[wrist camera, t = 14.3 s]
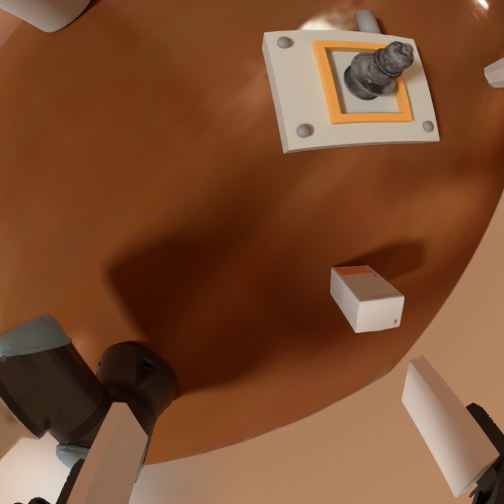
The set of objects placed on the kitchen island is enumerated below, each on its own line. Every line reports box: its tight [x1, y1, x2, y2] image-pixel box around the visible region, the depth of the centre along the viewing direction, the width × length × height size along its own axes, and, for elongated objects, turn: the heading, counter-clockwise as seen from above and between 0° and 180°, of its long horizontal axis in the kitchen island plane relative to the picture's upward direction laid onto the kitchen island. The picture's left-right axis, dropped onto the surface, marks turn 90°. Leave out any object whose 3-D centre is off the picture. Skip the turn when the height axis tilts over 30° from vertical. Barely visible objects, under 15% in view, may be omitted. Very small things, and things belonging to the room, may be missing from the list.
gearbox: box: [262, 10, 440, 153], centre depth 29 cm, size 22×21×6 cm
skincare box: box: [330, 265, 404, 333], centre depth 34 cm, size 6×4×12 cm
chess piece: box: [343, 41, 414, 101], centre depth 22 cm, size 6×6×12 cm
